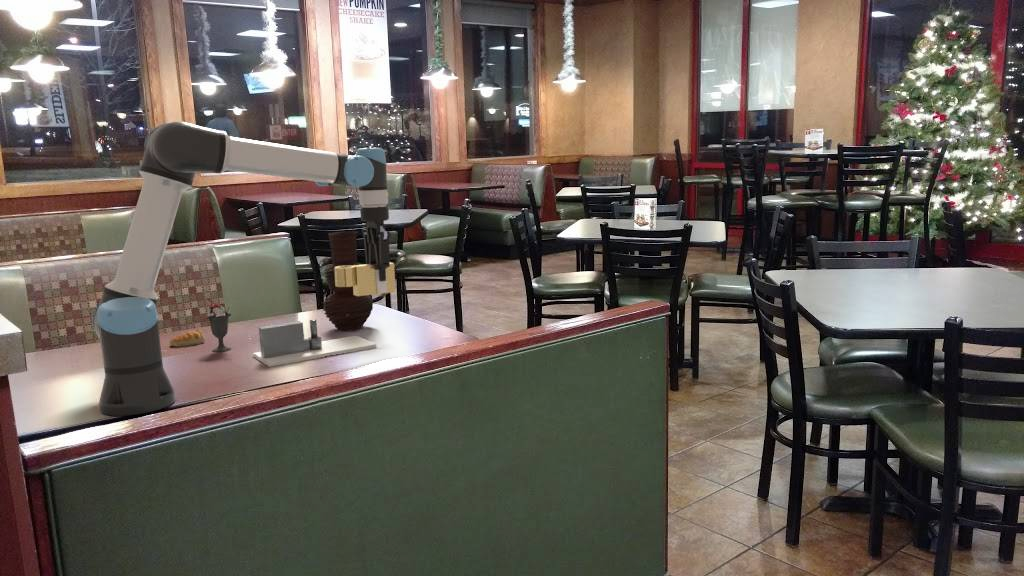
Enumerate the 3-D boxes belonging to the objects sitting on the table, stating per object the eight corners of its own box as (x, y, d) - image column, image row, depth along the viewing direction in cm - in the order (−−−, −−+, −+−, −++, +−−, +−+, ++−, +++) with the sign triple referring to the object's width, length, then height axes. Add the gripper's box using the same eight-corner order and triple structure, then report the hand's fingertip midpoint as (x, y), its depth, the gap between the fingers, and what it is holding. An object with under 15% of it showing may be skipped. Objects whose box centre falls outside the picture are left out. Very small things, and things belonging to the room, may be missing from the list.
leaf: (340, 298, 208) (339, 268, 207) (333, 296, 212) (332, 266, 211) (397, 292, 217) (395, 263, 215) (389, 290, 221) (387, 261, 220)
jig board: (269, 366, 204) (268, 363, 204) (253, 356, 215) (253, 352, 215) (376, 347, 220) (376, 344, 220) (356, 338, 232) (356, 335, 232)
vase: (322, 326, 251) (315, 232, 246) (371, 321, 256) (364, 229, 251) (326, 336, 237) (318, 236, 232) (377, 331, 241) (371, 233, 236)
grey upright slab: (265, 358, 208) (262, 329, 207) (261, 356, 211) (258, 327, 210) (323, 348, 217) (321, 320, 216) (319, 346, 220) (317, 318, 219)
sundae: (203, 351, 223) (198, 299, 220) (222, 346, 229) (217, 295, 226) (220, 353, 220) (215, 300, 217) (239, 348, 226) (234, 296, 223)
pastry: (175, 349, 228) (173, 336, 228) (166, 346, 233) (165, 333, 232) (207, 343, 235) (206, 330, 234) (198, 339, 239) (196, 327, 239)
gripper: (399, 206, 208) (404, 294, 212) (375, 204, 221) (380, 286, 225) (373, 208, 204) (378, 297, 208) (349, 205, 217) (355, 289, 221)
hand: (379, 291), depth 217 cm, fingers closed on leaf, 3 cm apart
